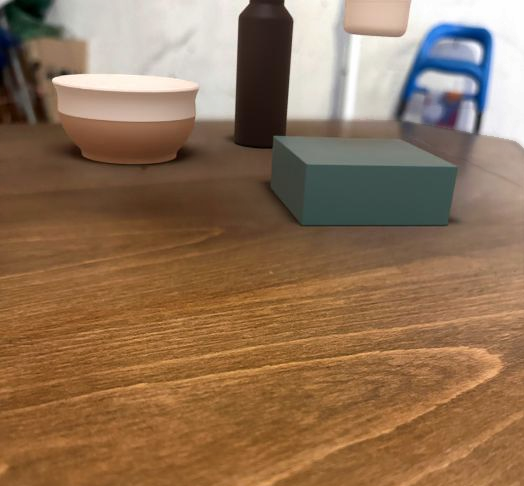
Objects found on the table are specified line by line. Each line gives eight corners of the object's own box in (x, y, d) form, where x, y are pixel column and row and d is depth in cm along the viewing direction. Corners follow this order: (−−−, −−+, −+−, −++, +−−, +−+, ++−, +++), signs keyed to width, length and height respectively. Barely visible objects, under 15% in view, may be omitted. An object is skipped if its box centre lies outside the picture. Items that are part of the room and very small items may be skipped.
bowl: (67, 171, 68) (61, 88, 64) (50, 142, 81) (43, 72, 77) (217, 167, 73) (219, 90, 70) (178, 141, 87) (177, 75, 83)
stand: (393, 189, 69) (400, 139, 67) (447, 225, 57) (458, 166, 55) (270, 187, 66) (273, 135, 64) (301, 225, 55) (306, 163, 53)
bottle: (226, 144, 86) (231, -34, 77) (244, 137, 92) (251, -29, 83) (276, 150, 85) (287, -31, 76) (291, 142, 90) (303, -27, 81)
